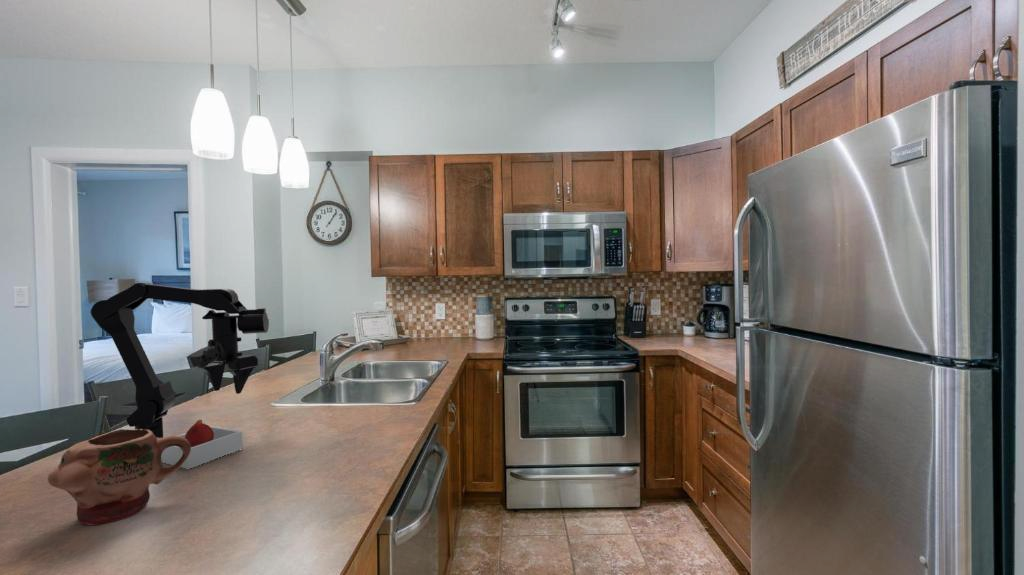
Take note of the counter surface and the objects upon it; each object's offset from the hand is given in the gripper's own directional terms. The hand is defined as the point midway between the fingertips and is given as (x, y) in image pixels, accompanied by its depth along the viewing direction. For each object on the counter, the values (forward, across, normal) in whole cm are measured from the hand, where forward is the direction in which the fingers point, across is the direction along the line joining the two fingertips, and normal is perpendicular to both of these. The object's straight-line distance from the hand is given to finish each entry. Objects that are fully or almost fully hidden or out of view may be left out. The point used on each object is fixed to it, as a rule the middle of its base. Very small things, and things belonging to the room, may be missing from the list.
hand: (227, 392), depth 122 cm
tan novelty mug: (+12, +21, -33) cm, 41 cm away
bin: (+12, +7, -12) cm, 18 cm away
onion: (+12, +7, -12) cm, 18 cm away
